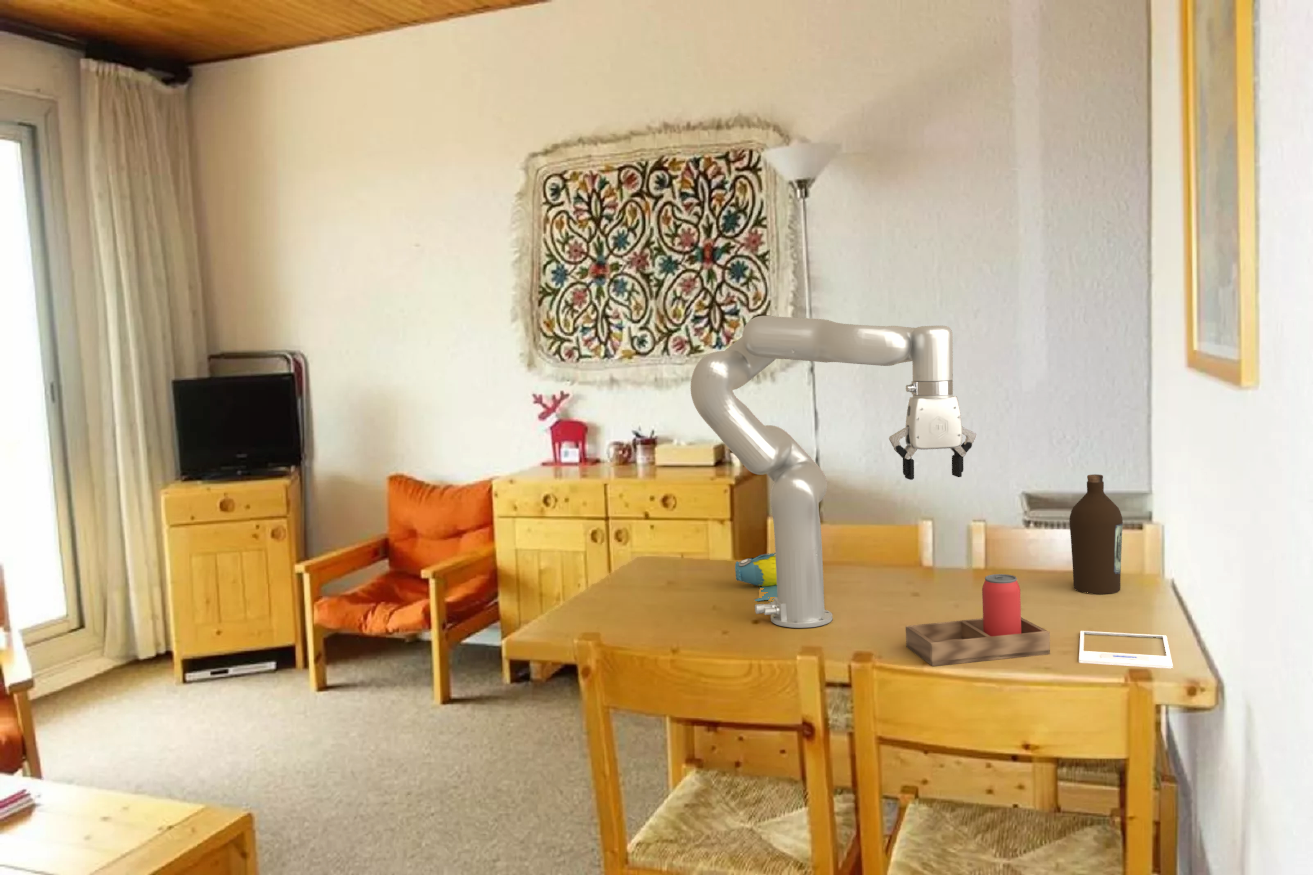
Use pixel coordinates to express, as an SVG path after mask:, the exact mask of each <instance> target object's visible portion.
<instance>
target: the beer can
mask: <svg viewBox="0 0 1313 875" xmlns="http://www.w3.org/2000/svg"><path fill="white" fill-rule="evenodd" d="M1019 584H1020V583H1018V578H1017V577H1016V576H1015V575H1011V574H1005V573H997V574H996V573H995V574H989V575H986V576H985V577H984V581H983V585H982V589H981V591H982V592H981V596H982V618H983V632H984V633H986V634H988V635H990V636H1001V635H1011V634H1021V617H1022V608H1021V607H1022V606H1021V604H1022V603H1021V602H1022V601H1021V588H1020V585H1019Z"/></svg>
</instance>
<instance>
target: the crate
mask: <svg viewBox="0 0 1313 875" xmlns="http://www.w3.org/2000/svg"><path fill="white" fill-rule="evenodd" d="M1050 633H1051V632H1050V631H1048V630H1046V629H1044V628H1043V627H1041V626H1039V625H1037V624H1035V623H1033V622H1031V621H1029V620H1027V619H1025V618H1023V617H1022V616H1021V634H1011V635H1001V636H990V635H988V634H986V633H984V632H983V617H981V618H974V619H973V618H972V619H963V620H956V621H955V620H953V621H952V620H951V621H943V622H932V623H923V624H913V625H912V624H911V625H905V646H906V648H907V649H908V650H910V651H911V652H913V654H915V655H916V656H918V657H919V658H921V659H922V660H923V661H925V662H926V663H928V664H929V665H930V666H931V667H938V666H940V667H941V666H946V665H950V666H951V665H958V664H967V663H978V662H984V661H985V662H987V661H994V660H1005V659H1015V658H1016V659H1017V658H1025V657H1035V656H1043V655H1045V656H1046V655H1050V654H1051V642H1050V641H1051V640H1050V637H1051V636H1050Z"/></svg>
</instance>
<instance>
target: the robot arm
mask: <svg viewBox="0 0 1313 875" xmlns="http://www.w3.org/2000/svg"><path fill="white" fill-rule="evenodd" d="M741 335H742V336H741V337H740V338H738V339H737V341H735V342H733V343H732V344H731V345H729V347H728V348H726V349H725V350H719V351H714V352H711V353H707V354H706V355H705V356H703V357H702V358H700V360H699V361H698V362H697V364H696V365H695V368H694V369H693V372H692V376H691V379H690V396H691V400H692V403H693V405H694V408H695V409H696V411H697V413H698V414H699V415H700V417H701V419H703V421H704V422H705V423H706V424H707V425H708V426H709V428H711V430H712V431H713V432H714V433H715V434H716V436H718V438H719V439H720V440H721V442H722V443H723V444H724V445H725V446H726V447H727V449H729V450H730V452H732V454H733V455H734V456H735V457H736V458H737V459H738V460H739V462H740V463H741V464H742V465H743V467H745V468H746V470H748V471H749V472H750V473H752V474H755V475H761V476H763V475H767V477H769V478H770V479H771V480H772V482H773V484H772V485H771V490H770V499H769V500H770V507H771V514H772V520H773V533H774V535H773V536H774V550H775V551H774V553H776V554H775V555H776V576H777V597H775V598H774V601H773V602H770V601H769V603H765V604H764V603H760V604H759V603H757V604H754V611H755V614H756V615H759V614H763V615H765V616H767V615H768V616H770V621H771V622H772V623H773V624H774V625H777V626H780V627H785V628H791V629H794V628H795V629H805V628H806V629H808V628H815V627H821V626H825V625H827V624H829V623H831V622H832V621H833V613H832V612H831V611H829V610H828V609H825V593H824V588H825V587H824V565H823V562H824V561H823V543H822V542H823V541H822V527H821V526H822V525H821V518H820V517H821V516H820V508H819V506H820V503H821V501H822V500H823V499H824V498H825V496H826V493H827V491H828V480H827V478H826V475H825V473H824V471H823V470H822V468H821V467H820V466H819V465H818V464H817V463H816V462H815V460H814V459H813V458H812V457H811V456H810V455H809V453H807V452H806V451H805V450H804V449H803V447H802V446H801V445H800V444H799V443H798V442H797V441H796V440H795V439H794V438H793V437H792V436H791V435H790V434H789V433H788V432H787V431H785V429H782V428H781V427H779V426H776V425H773V424H772V425H769V424H767V425H766V424H763V422H762V421H760V420H759V418H758V417H757V416H756V415H755V414H754V413H753V411H751V410H750V408H749V407H748V406H747V405H746V404H744V402H743V401H741V400H740V399H739V398H738V397H737V396H736V394H735V393H734V390H737V389H740V388H741V387H743V386H745V385H747V383H749V382H750V381H751V380H753V379H754V378H755V377H756V376H757V375H758V374H760V373H761V372H762V371H763V370H765V369H766V368H767V367H768V366H769V365H771V364H772V363H773V362H774V361H775V360H792V361H805V362H817V363H839V364H841V363H842V364H853V365H856V364H857V365H867V366H868V365H869V366H881V367H882V366H883V367H890V366H895V365H897V364H898V365H899V364H904V363H910V362H911V363H912V381H911V383H910V384H906V385H905V391H906V393H908V392H909V393H911V395H912V396H911V397H909V399H908V405H907V410H906V416H905V417H906V418H905V427H904V428H901V429H900V430H898V431H897V432H895V433H893V434H891V435H890V436H889V437H888V440H889V441H890V444H891V446H892V447H893V450H894V451H895V452H896V453H897V454H898V455H899V457H900V458H902V474H903V476H904V478H905V479H907V480H909V481H912V480H914V479H915V460H914V459H913V456H914V454H915V453H916V452H917V450H942V449H950V450H951V451H952V452H953V454H952V455H951V476H953V477H956V478H962V476H963V472H964V457H965V456H966V455H967V453H968V452H969V450H970V449H971V448H972V447H973V444H974V442H975V440H976V438H977V436H978V435H977V433H976V432H975V431H972V430H970V429H968V428H966V427H965V426H963V425H962V415H961V410H960V408H961V407H960V403H959V400H958V396H955V395H954V392H953V391H954V389H953V388H954V387H953V386H954V383H953V382H954V381H953V379H954V373H953V371H954V369H953V362H954V360H953V357H954V356H953V355H954V354H953V353H954V351H953V344H954V343H953V339H954V338H953V337H954V336H953V331H952V329H951V327H949V326H947V325H922V326H917V327H909V326H900V325H868V324H867V325H866V324H864V325H863V324H851V323H850V324H849V323H842V322H841V323H840V322H835V321H832V320H829V319H824V318H811V317H809V318H805V317H790V316H788V317H787V316H775V315H759V316H755V317H753V318H751V319H750V320H748V321H747V323H746V324H745V325H744V327H743V329H742V334H741ZM963 435H964V436H965V441H963ZM904 437H905V444H906V446H904V447H903V446H902V445H901V443H900V441H901V439H904Z"/></svg>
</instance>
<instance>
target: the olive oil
mask: <svg viewBox="0 0 1313 875" xmlns="http://www.w3.org/2000/svg"><path fill="white" fill-rule="evenodd" d="M1104 486H1105V484H1104V475H1102V474H1096V473H1095V474H1088V475H1087V481H1086V493H1085V494H1084V496H1082V498H1081V499H1079V500H1078V502H1076V504H1075V505H1074V506H1073V507H1072V509H1071V511H1070V514H1069V531H1070V532H1069V534H1070V546H1071V548H1070V549H1071V562H1072V580H1073V583H1072V584H1073V589H1074V590H1075V589H1076V590H1075V591H1077V590H1078V591H1077V592H1079V591H1080V592H1079V593H1083V592H1086V593H1085V594H1089V593H1093V594H1092V595H1108V594H1110V595H1111V594H1115V593H1118V592H1120V591H1121V580H1122V579H1121V577H1122V576H1121V574H1122V573H1121V570H1122V548H1123V547H1122V544H1123V528H1124V527H1123V515H1122V512H1121V510H1120V509H1119V507H1118V506H1117V504H1115V502H1113V501H1112V500H1111V498H1109V497H1108V496H1107V494H1105V492H1104V490H1105V487H1104ZM1087 592H1088V593H1087Z"/></svg>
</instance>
